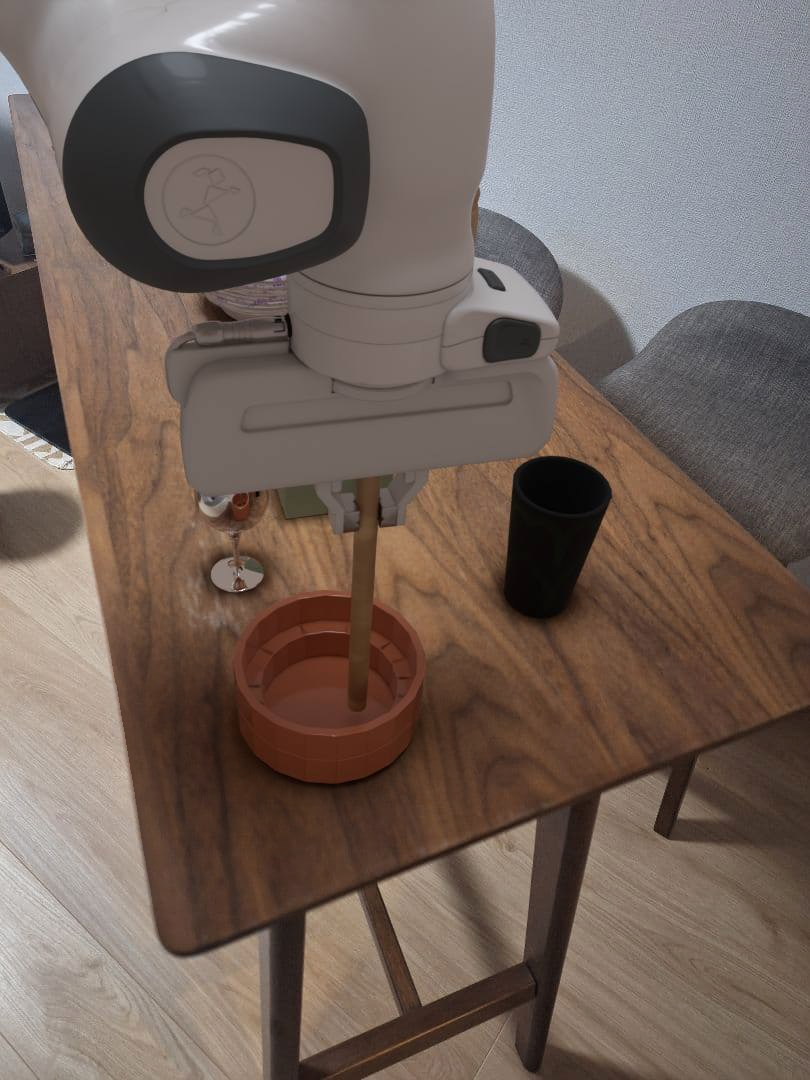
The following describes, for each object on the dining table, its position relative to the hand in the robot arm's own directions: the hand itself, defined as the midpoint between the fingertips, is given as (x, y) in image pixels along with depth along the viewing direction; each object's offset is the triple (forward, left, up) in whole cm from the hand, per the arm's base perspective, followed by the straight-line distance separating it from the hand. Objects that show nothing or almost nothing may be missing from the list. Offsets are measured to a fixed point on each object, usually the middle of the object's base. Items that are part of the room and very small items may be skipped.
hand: (366, 523), depth 54 cm
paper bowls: (+4, +64, -20) cm, 67 cm away
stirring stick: (0, 0, -17) cm, 17 cm away
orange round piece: (-2, +2, -19) cm, 20 cm away
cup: (+18, +10, -20) cm, 29 cm away
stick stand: (+4, +29, -19) cm, 35 cm away
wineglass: (-6, +17, -20) cm, 27 cm away
